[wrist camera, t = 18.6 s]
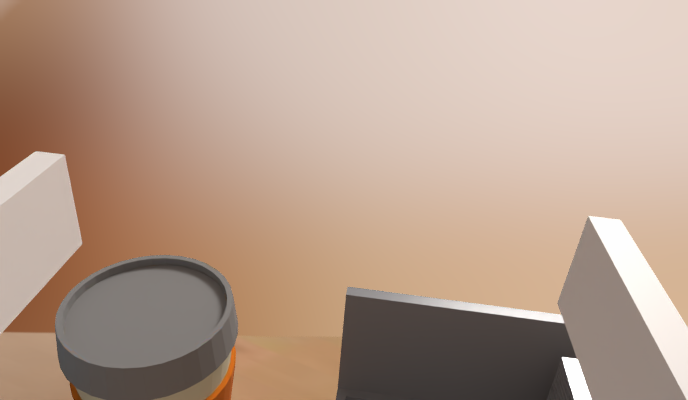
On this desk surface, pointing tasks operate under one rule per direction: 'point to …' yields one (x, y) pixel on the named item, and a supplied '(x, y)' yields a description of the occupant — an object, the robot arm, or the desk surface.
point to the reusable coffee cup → (149, 332)
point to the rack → (446, 349)
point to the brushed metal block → (569, 382)
